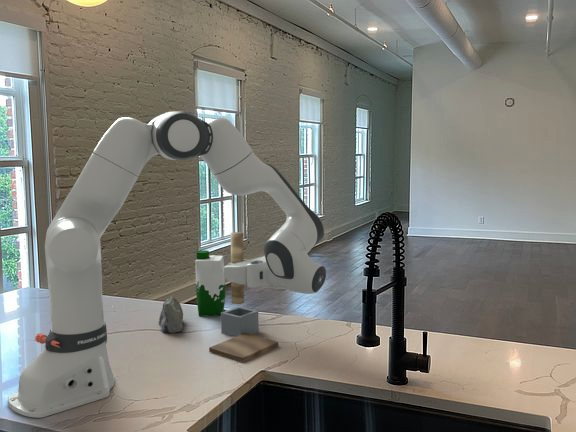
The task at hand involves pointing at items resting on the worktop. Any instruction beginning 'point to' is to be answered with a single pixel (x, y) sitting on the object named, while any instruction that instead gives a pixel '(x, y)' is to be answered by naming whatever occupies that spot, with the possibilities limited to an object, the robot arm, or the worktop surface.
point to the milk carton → (209, 284)
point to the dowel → (237, 257)
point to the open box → (239, 321)
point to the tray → (243, 347)
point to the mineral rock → (171, 316)
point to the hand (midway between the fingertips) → (235, 264)
